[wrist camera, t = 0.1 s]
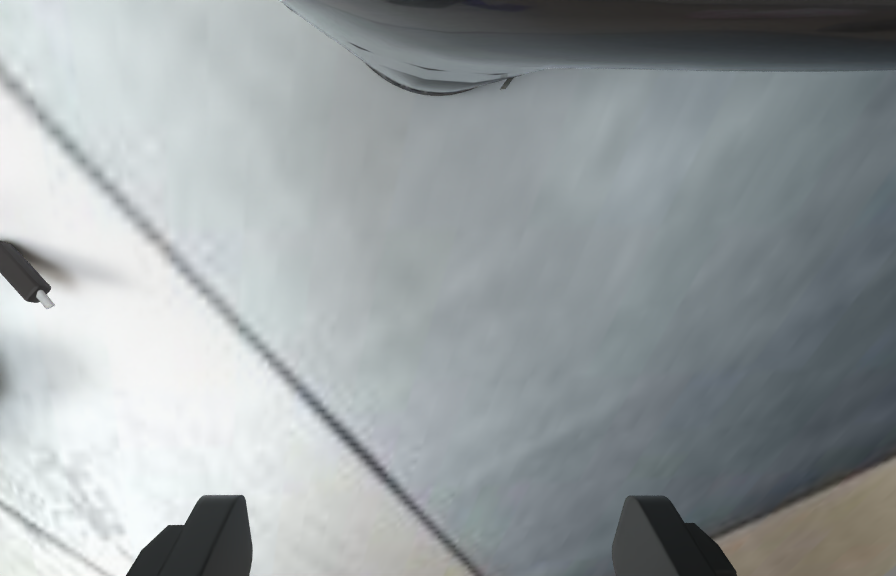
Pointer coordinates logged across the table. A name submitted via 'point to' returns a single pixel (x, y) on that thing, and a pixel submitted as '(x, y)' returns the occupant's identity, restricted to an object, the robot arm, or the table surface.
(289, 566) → the table surface
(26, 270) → the clip-on lamp
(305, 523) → the table surface
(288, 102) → the table surface
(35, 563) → the table surface
